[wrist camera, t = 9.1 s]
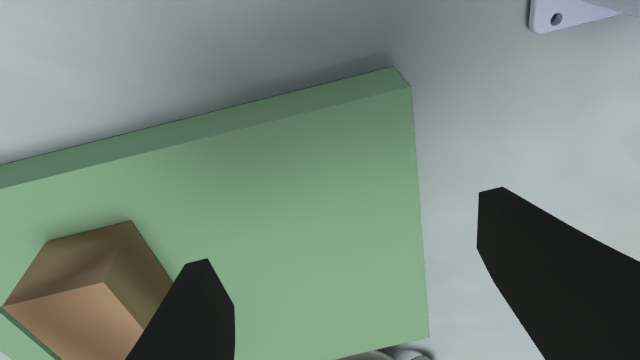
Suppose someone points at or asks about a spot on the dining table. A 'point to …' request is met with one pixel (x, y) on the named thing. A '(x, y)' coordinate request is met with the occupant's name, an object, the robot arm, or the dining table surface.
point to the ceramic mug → (375, 356)
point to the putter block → (90, 293)
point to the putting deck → (252, 215)
